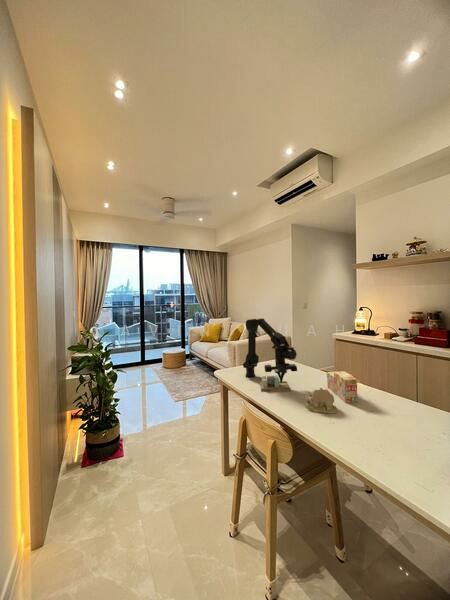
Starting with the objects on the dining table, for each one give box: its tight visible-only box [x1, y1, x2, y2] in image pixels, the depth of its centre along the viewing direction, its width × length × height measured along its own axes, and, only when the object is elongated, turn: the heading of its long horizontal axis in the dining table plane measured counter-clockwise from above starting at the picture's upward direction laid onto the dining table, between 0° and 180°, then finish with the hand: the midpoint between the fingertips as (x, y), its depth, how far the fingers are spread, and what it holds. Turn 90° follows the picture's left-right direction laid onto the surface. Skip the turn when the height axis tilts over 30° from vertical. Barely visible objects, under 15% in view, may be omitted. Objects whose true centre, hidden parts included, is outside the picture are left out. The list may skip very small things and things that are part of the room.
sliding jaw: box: [273, 375, 280, 387], centre depth 150 cm, size 8×2×4 cm, turn 176°
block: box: [266, 375, 275, 387], centre depth 150 cm, size 4×4×5 cm
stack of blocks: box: [326, 370, 358, 404], centre depth 136 cm, size 21×6×12 cm, turn 1°
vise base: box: [259, 375, 292, 392], centre depth 150 cm, size 12×17×6 cm
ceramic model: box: [305, 387, 339, 414], centre depth 121 cm, size 14×11×10 cm
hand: (281, 382), depth 150 cm, fingers closed
